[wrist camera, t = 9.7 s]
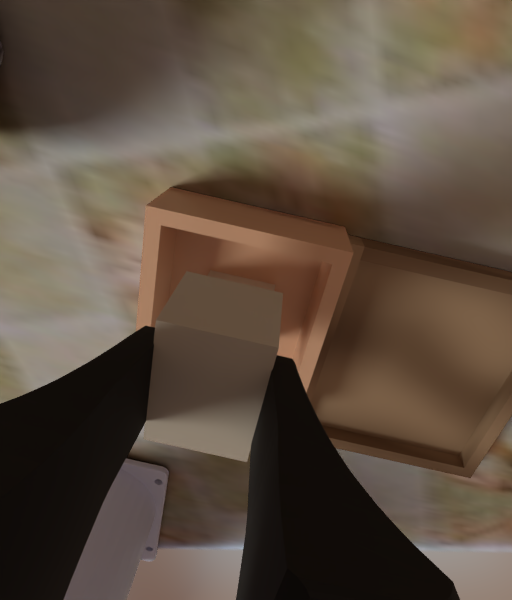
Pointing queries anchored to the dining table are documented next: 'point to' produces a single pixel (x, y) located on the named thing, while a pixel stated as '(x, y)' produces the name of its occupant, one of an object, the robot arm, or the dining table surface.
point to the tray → (416, 359)
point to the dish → (247, 262)
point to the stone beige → (212, 365)
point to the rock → (1, 53)
